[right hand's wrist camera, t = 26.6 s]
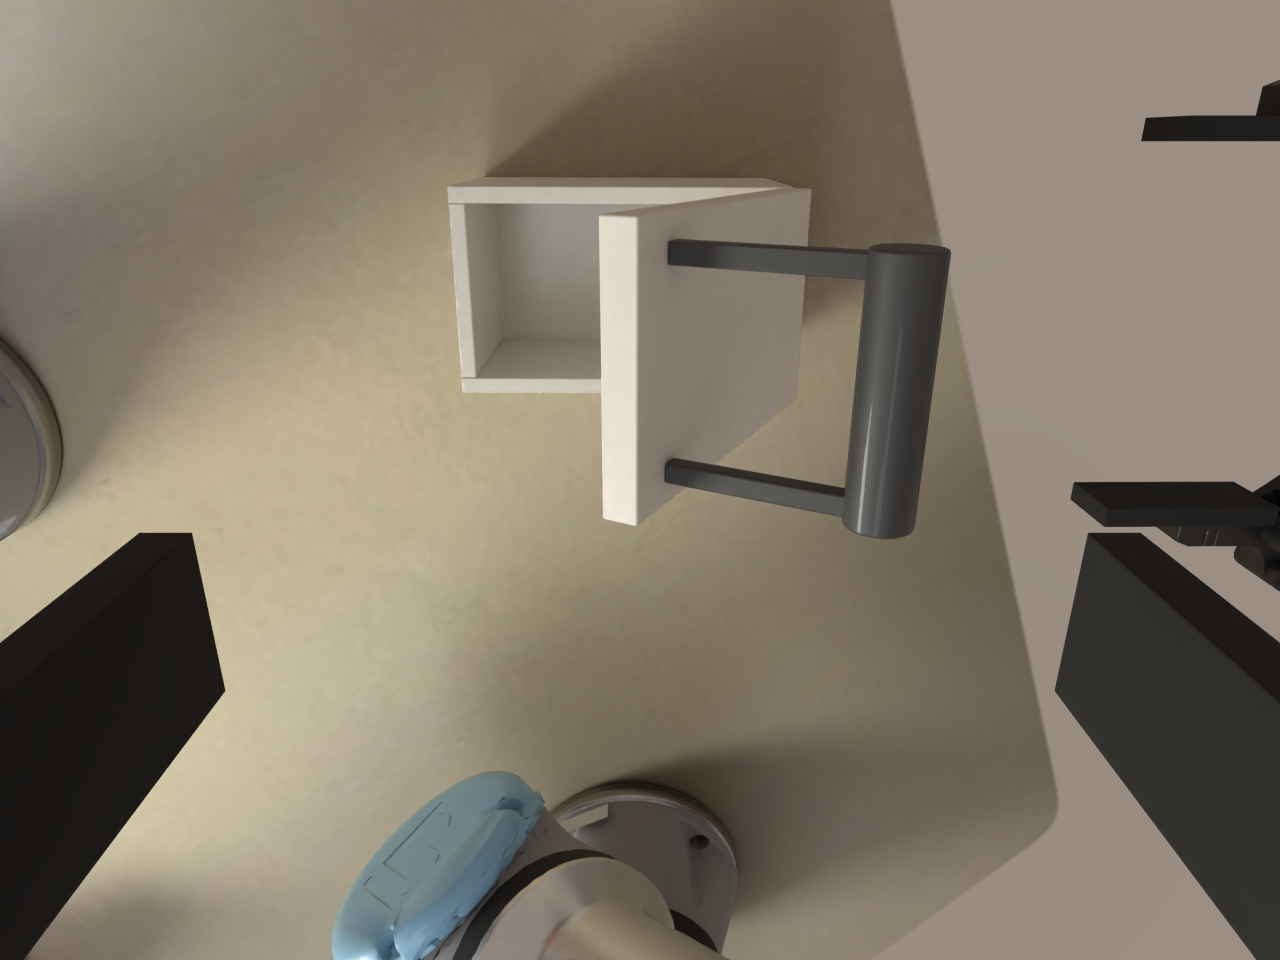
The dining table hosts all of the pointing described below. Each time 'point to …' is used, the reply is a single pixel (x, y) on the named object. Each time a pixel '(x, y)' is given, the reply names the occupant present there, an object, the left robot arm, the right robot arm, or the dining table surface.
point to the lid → (756, 356)
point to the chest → (545, 272)
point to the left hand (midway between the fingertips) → (1122, 331)
